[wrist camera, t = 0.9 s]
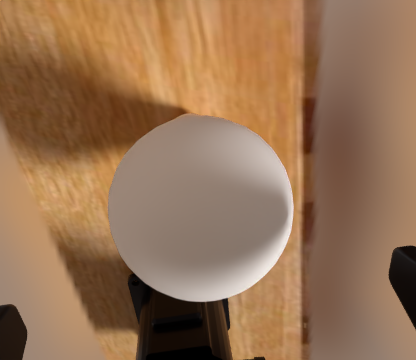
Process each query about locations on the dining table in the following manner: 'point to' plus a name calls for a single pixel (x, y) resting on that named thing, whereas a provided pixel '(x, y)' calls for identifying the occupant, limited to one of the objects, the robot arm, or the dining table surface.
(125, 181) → the lightbulb
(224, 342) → the robot arm
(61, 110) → the dining table surface
